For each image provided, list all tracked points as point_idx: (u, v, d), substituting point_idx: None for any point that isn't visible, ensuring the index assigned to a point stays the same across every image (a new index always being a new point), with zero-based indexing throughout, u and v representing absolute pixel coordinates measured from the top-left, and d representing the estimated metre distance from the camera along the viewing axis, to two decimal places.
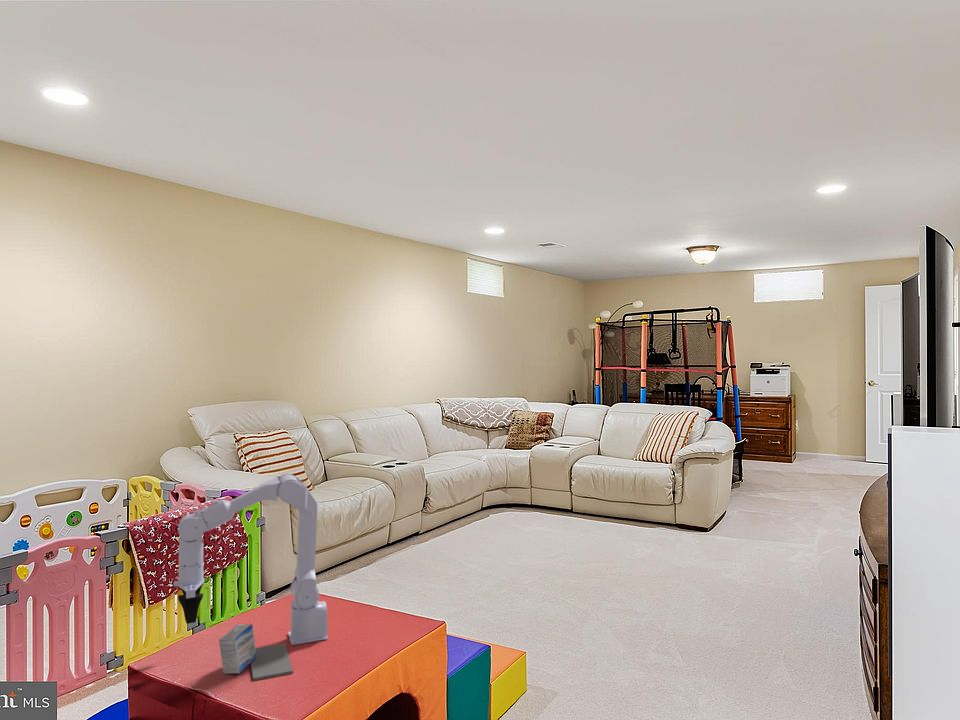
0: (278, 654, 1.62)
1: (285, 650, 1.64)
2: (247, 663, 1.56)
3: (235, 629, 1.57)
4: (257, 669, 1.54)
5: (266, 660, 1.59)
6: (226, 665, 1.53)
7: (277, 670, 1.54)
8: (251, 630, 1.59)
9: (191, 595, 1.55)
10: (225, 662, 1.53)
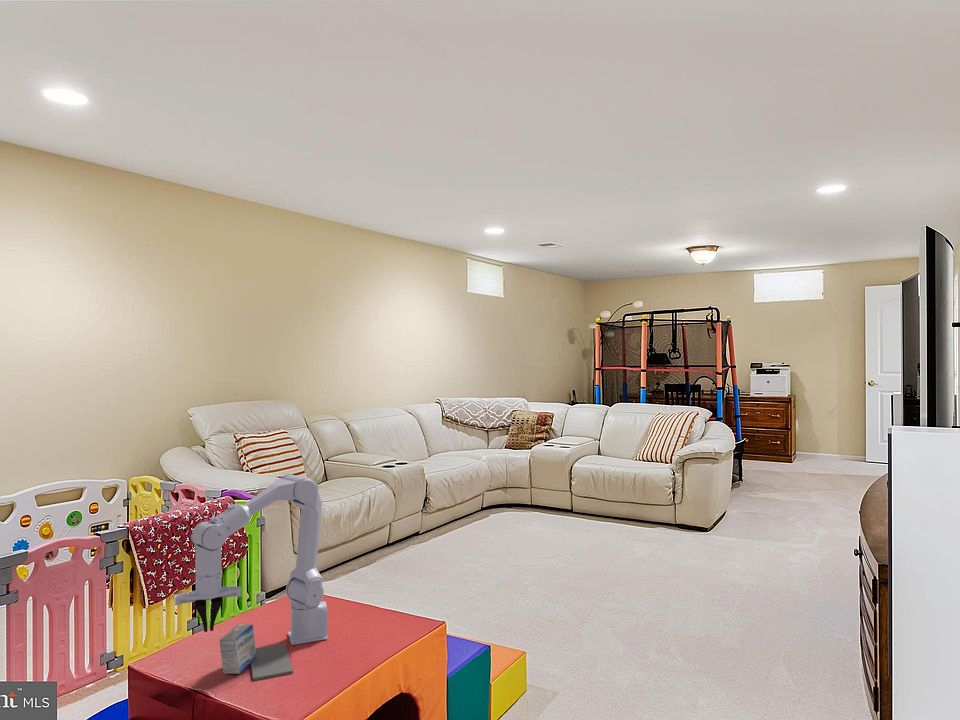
0: (278, 654, 1.62)
1: (285, 650, 1.64)
2: (247, 663, 1.56)
3: (235, 629, 1.57)
4: (257, 669, 1.54)
5: (266, 660, 1.59)
6: (226, 665, 1.53)
7: (277, 670, 1.54)
8: (251, 630, 1.59)
9: None
10: (225, 662, 1.53)
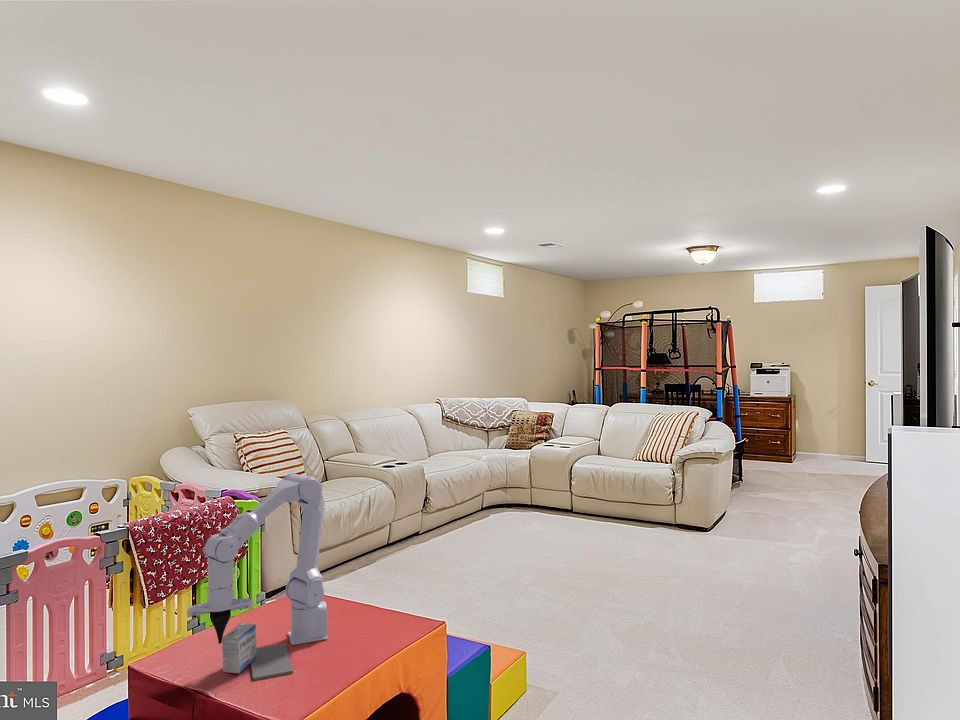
0: (278, 654, 1.62)
1: (285, 650, 1.64)
2: (247, 663, 1.56)
3: (238, 628, 1.57)
4: (257, 669, 1.54)
5: (266, 660, 1.59)
6: (227, 664, 1.53)
7: (277, 670, 1.54)
8: (254, 630, 1.59)
9: None
10: (226, 661, 1.53)
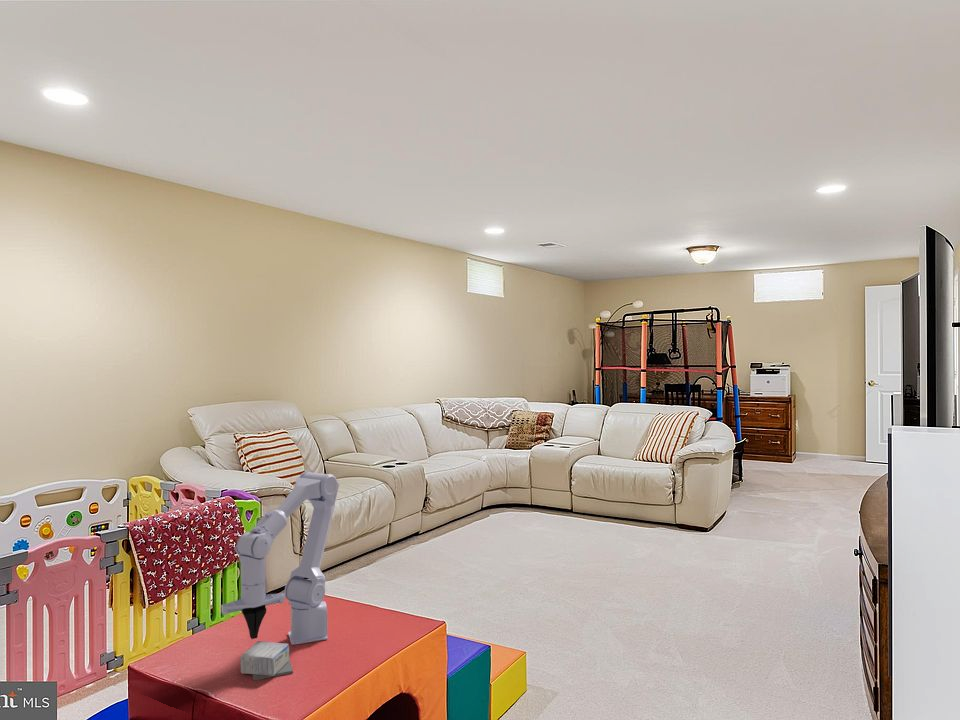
0: None
1: None
2: None
3: (283, 655, 1.55)
4: None
5: None
6: (248, 661, 1.52)
7: None
8: None
9: (222, 611, 1.54)
10: (251, 660, 1.52)
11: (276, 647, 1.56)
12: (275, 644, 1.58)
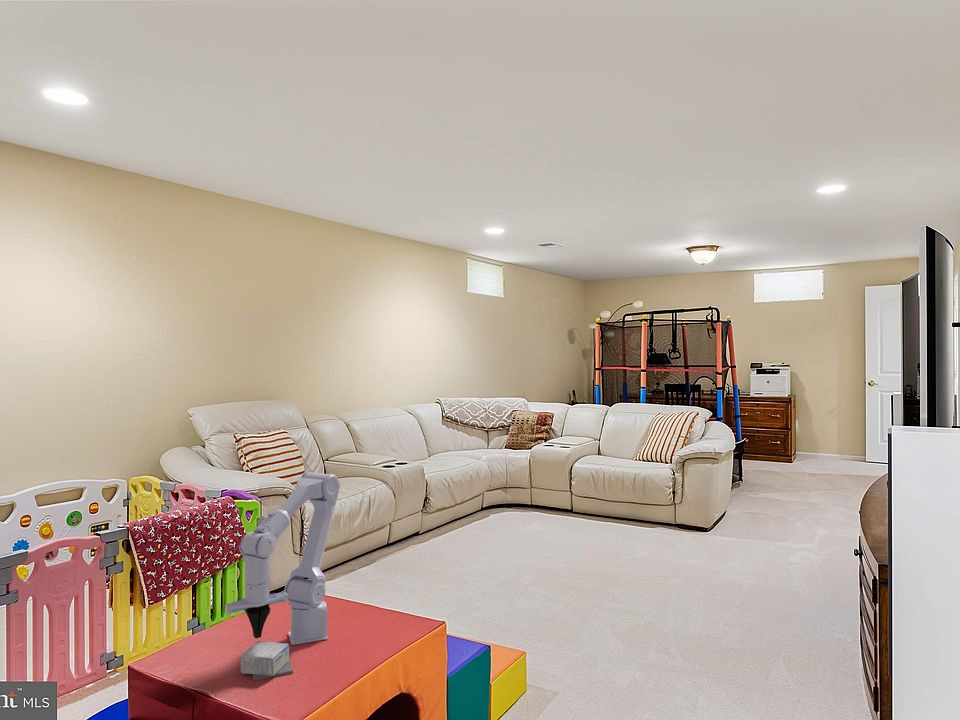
0: None
1: None
2: None
3: (283, 655, 1.55)
4: None
5: None
6: (248, 661, 1.52)
7: None
8: None
9: (226, 611, 1.54)
10: (251, 660, 1.52)
11: (276, 647, 1.56)
12: (275, 644, 1.58)
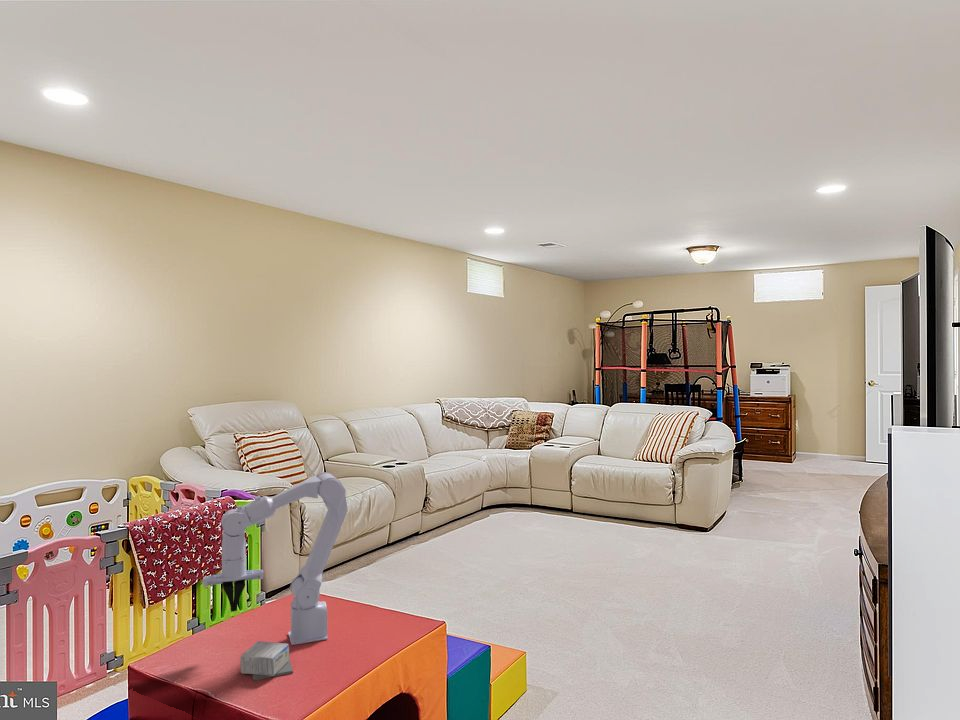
0: None
1: None
2: None
3: (283, 655, 1.55)
4: None
5: None
6: (248, 661, 1.52)
7: None
8: None
9: None
10: (251, 660, 1.52)
11: (276, 647, 1.56)
12: (275, 644, 1.58)
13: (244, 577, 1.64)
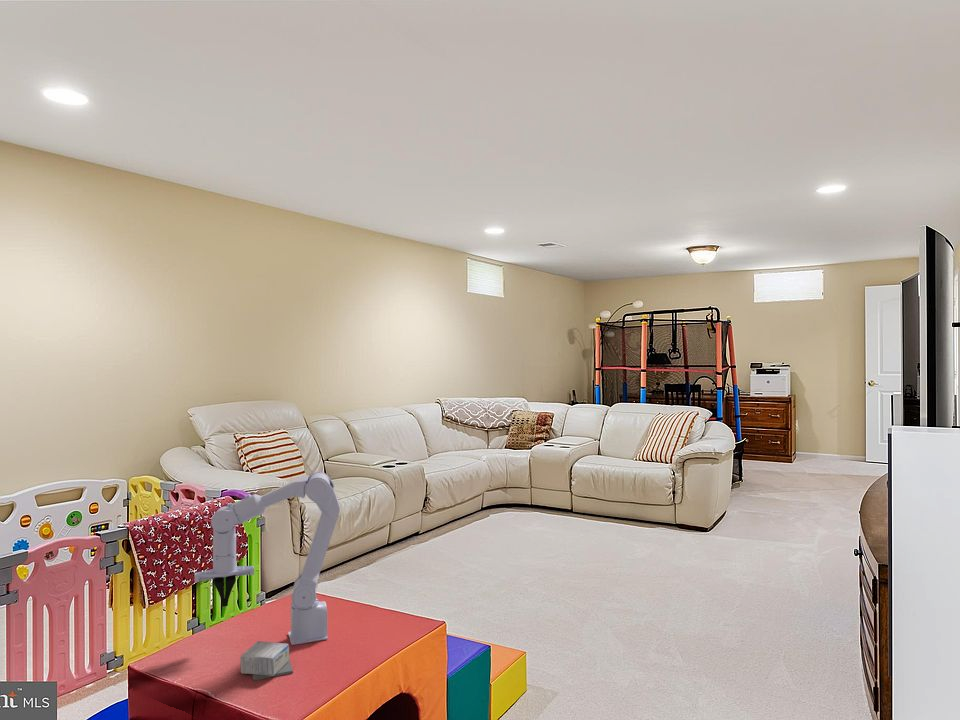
0: None
1: None
2: None
3: (283, 655, 1.55)
4: None
5: None
6: (248, 661, 1.52)
7: None
8: None
9: (195, 579, 1.66)
10: (251, 660, 1.52)
11: (276, 647, 1.56)
12: (275, 644, 1.58)
13: (234, 573, 1.68)
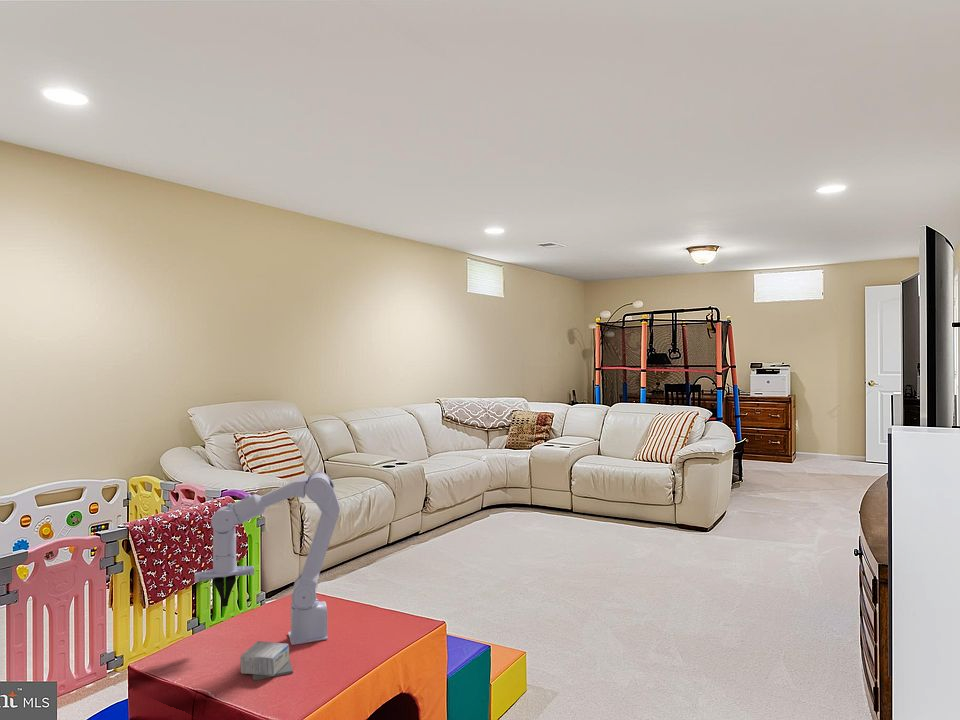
0: None
1: None
2: None
3: (283, 655, 1.55)
4: None
5: None
6: (248, 661, 1.52)
7: None
8: None
9: (195, 579, 1.66)
10: (251, 660, 1.52)
11: (276, 647, 1.56)
12: (275, 644, 1.58)
13: (234, 573, 1.68)
